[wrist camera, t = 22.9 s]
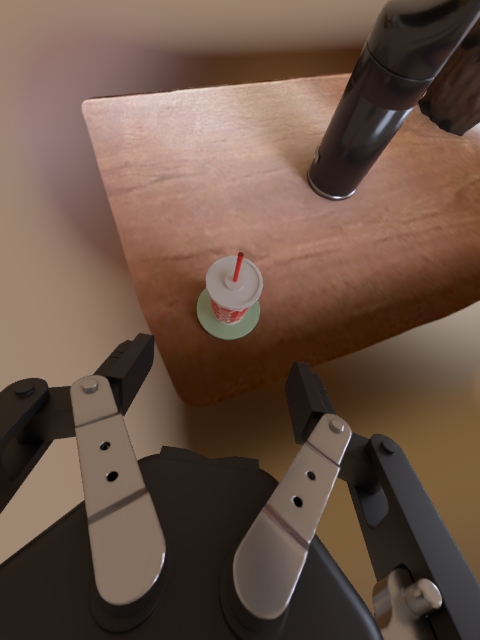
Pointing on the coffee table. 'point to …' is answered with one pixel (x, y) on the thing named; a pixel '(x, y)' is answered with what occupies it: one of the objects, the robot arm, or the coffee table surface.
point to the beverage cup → (233, 287)
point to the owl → (457, 88)
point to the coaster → (221, 329)
